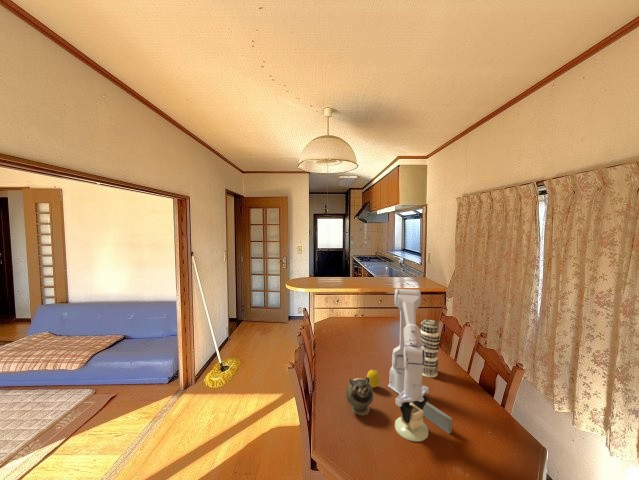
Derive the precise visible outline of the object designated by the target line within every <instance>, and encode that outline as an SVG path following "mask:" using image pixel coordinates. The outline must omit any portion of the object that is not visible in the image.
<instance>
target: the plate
mask: <svg viewBox="0 0 639 480" xmlns="http://www.w3.org/2000/svg"><path fill="white" fill-rule="evenodd" d="M394 428H395V431H396V432H397V434H398V435H399V436H400V438H401V437H402V438H403V439H405V440H407V441H410V442H414V443H417V442H419V443H420V442H424V441H426V440H427V439H428V437H429V431H430V430H429V428H428V426H427V425H426V424H425V422H424V421H423V425H422V426H420V427H418V428H416V429H414V430H412V429H410V428H409V427H408V426H407V425H405V424H404V423H403V422H402V421H401V416H399V417H398V418H397V419H395V422H394Z"/></svg>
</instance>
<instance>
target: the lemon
mask: <svg viewBox="0 0 639 480" xmlns="http://www.w3.org/2000/svg"><path fill="white" fill-rule="evenodd" d="M367 377H368V378H369V380H370V382H369V384H370V385H371V387H372V389H374V388H376V387H378V386H379V384H380V380H381V379H380V373H379V372H378V371H377V370H375V369H370V370H368V372H367V375H366V378H367Z"/></svg>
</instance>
